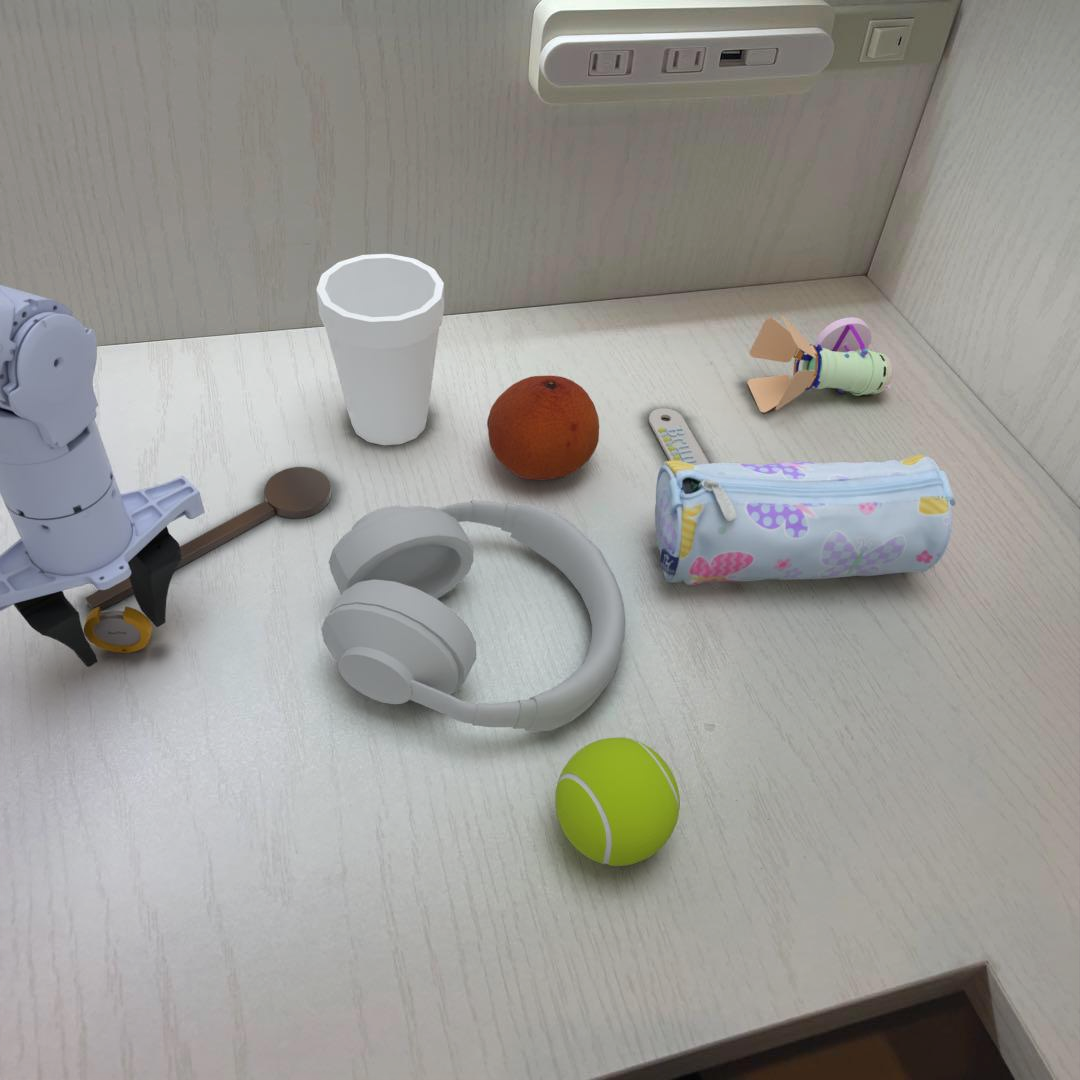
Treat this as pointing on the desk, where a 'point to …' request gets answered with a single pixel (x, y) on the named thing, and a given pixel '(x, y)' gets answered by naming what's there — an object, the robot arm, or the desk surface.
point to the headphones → (437, 631)
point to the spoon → (245, 521)
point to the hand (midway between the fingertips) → (120, 635)
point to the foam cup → (383, 341)
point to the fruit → (543, 427)
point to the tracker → (118, 629)
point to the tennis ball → (617, 801)
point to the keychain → (676, 437)
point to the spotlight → (819, 362)
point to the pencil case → (800, 519)
